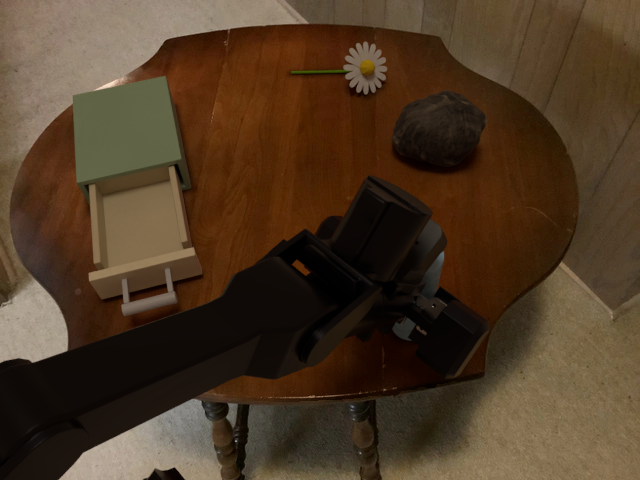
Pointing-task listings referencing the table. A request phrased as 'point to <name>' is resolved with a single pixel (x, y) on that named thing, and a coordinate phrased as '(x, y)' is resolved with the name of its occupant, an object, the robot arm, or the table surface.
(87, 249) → the table surface
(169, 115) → the cabinet
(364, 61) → the decorative flower
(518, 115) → the table surface
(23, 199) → the table surface
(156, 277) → the drawer
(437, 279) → the canister
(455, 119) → the rock
